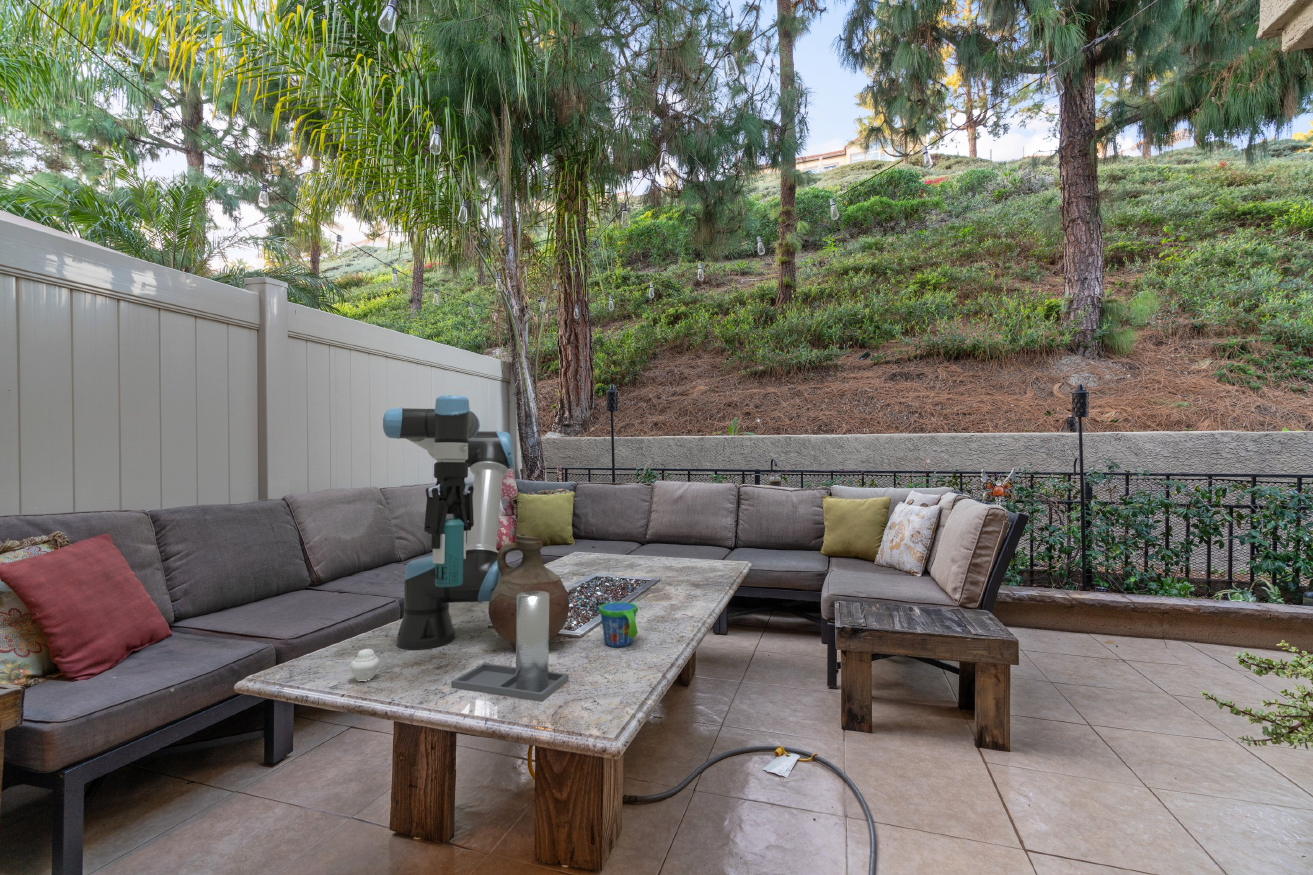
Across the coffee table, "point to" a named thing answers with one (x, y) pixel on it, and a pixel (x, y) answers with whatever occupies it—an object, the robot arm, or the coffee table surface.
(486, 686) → the tray
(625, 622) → the snack cup
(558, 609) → the jug
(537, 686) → the canister
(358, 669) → the white lidded jar
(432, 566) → the robot arm
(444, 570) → the beverage bottle
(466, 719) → the coffee table surface
